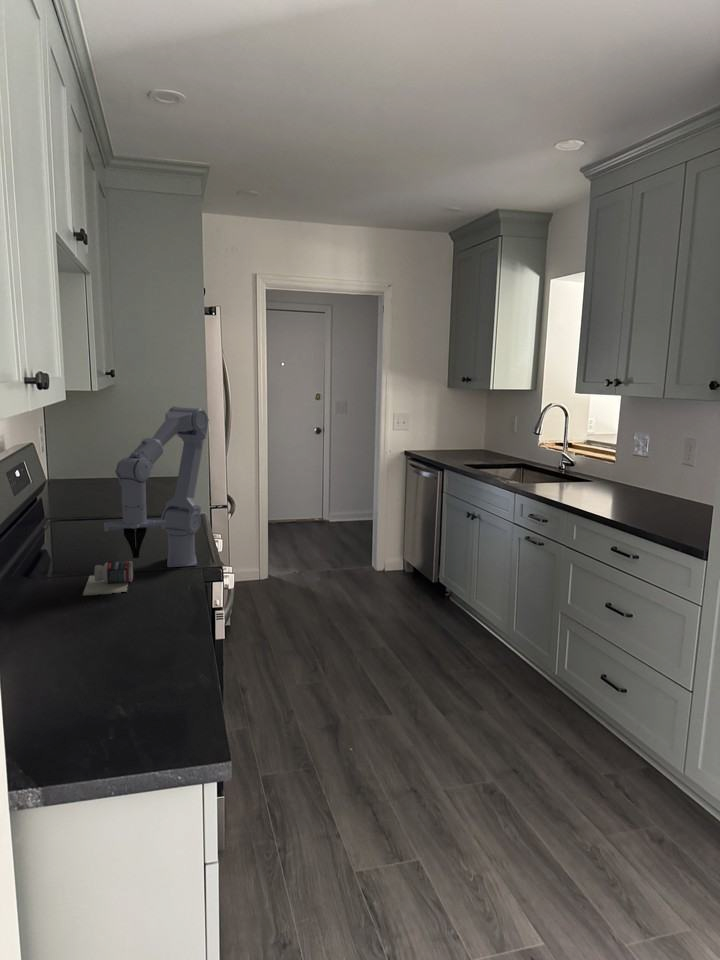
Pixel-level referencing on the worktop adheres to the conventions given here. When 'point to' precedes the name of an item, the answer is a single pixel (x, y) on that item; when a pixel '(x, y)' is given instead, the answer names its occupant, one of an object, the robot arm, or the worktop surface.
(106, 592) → the mat
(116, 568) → the pill bottle
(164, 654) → the worktop surface
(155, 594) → the worktop surface
